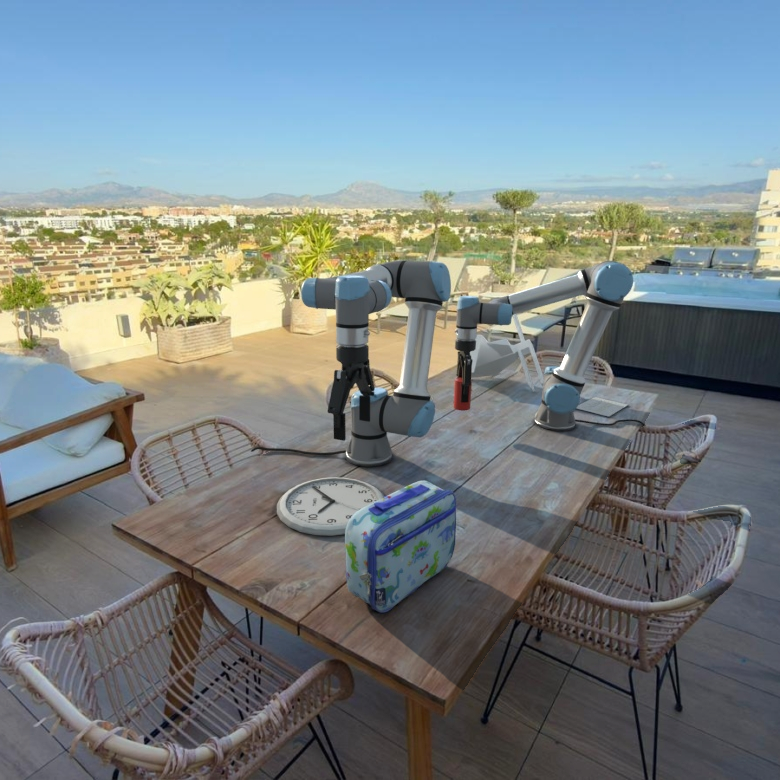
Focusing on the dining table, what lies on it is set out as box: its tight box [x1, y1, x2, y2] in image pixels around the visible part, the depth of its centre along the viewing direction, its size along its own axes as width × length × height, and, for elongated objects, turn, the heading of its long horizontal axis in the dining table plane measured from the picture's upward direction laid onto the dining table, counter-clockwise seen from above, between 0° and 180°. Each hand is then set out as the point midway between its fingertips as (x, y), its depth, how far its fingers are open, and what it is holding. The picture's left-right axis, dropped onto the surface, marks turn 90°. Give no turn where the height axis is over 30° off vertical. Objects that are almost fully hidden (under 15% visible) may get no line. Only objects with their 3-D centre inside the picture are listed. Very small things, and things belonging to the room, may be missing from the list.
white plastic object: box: [470, 313, 544, 393], centre depth 256 cm, size 37×45×31 cm
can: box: [453, 377, 473, 412], centre depth 197 cm, size 6×6×11 cm
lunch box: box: [344, 480, 457, 614], centre depth 109 cm, size 26×11×21 cm, turn 135°
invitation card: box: [575, 396, 629, 418], centre depth 226 cm, size 21×1×15 cm
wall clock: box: [276, 476, 386, 537], centre depth 142 cm, size 30×2×30 cm
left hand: (352, 429), depth 127 cm, fingers open, 13 cm apart
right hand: (462, 399), depth 198 cm, fingers closed on can, 6 cm apart
